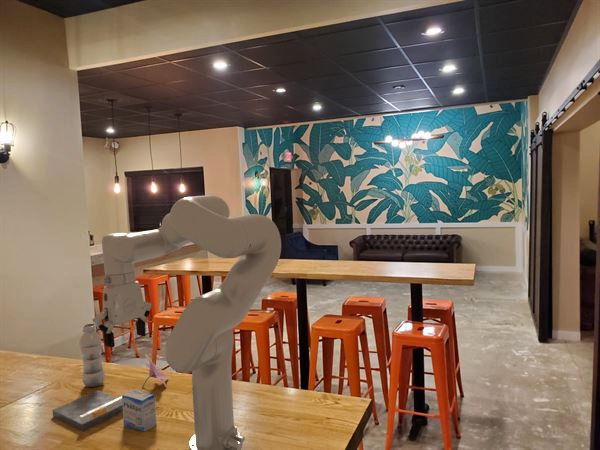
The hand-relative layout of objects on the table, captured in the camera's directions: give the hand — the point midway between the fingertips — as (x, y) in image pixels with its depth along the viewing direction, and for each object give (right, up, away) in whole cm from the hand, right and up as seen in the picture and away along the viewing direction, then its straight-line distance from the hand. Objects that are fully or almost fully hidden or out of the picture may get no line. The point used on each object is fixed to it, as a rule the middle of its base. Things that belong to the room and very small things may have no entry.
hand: (126, 340), depth 126 cm
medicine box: (+4, -23, -1) cm, 23 cm away
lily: (+1, -20, +23) cm, 30 cm away
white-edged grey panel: (-12, -22, +6) cm, 26 cm away
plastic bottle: (-19, -21, +24) cm, 38 cm away
